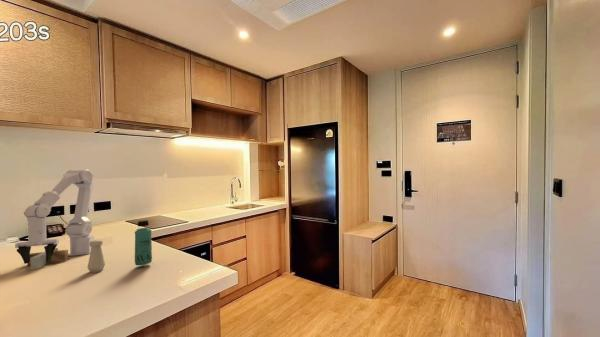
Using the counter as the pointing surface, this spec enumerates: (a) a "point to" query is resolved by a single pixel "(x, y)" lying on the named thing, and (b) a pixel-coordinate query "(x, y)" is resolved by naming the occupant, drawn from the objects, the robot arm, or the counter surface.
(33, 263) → the grey rectangular bar
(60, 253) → the brown flat bar
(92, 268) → the salt shaker
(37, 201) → the robot arm
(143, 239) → the beverage bottle
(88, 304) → the counter surface
